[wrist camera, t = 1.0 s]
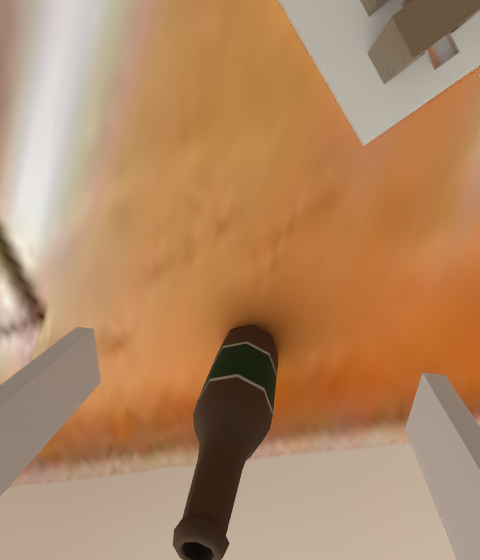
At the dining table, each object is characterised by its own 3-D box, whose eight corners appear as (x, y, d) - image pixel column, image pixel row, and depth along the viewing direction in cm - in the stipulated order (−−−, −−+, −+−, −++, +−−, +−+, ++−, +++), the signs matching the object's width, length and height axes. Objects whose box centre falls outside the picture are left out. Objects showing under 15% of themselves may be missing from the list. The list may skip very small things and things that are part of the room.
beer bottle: (253, 311, 40) (198, 495, 18) (291, 355, 42) (283, 575, 20) (209, 342, 43) (116, 534, 21) (246, 382, 44) (195, 602, 22)
